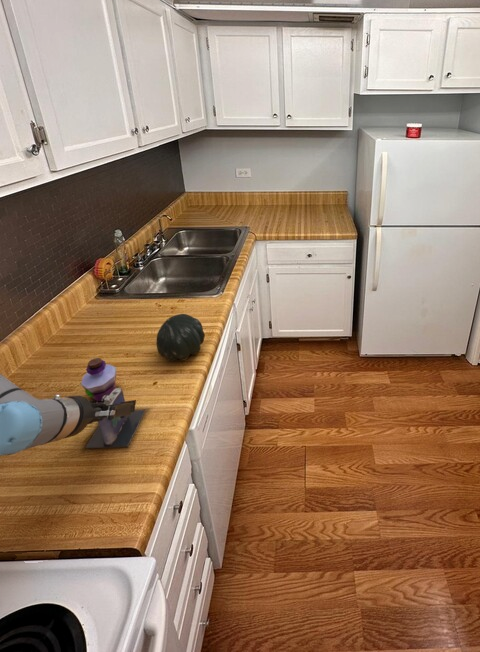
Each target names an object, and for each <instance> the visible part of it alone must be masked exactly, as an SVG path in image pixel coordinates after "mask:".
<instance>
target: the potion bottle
mask: <svg viewBox="0 0 480 652" xmlns="http://www.w3.org/2000/svg"><path fill="white" fill-rule="evenodd" d="M85 370H86V373H85V374H83V377H82V379H81V383H80V386H81V387H82V388H83V389H84V392H85V394H86V395H87V396H88V397H90V398H93V401H94V402H95V403H100V402H104V401H105V400H104V398H105V397H106V396H107V395H108V396H109V395H110V394H111V392H112V391H113V390H114V389H116V379H117V367H116V366H113V365H112V364H109V363H108V364H106V361H105V360H103V359H102V358H101V357H95V358H91V359H90V360H89V361H88V363H87V366H86V369H85ZM105 395H106V396H105ZM104 396H105V397H104ZM102 397H104V398H103V399H102ZM102 400H103V401H102Z"/></svg>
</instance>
